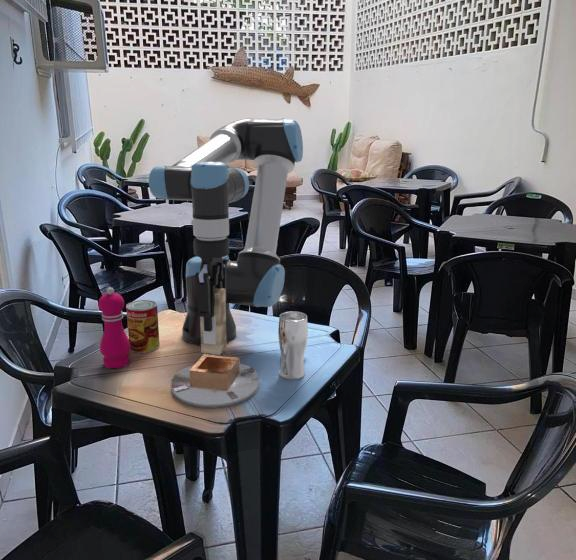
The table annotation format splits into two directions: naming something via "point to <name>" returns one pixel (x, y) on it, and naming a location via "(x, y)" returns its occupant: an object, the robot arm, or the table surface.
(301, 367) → the beer glass
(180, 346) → the table surface
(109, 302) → the pepper mill
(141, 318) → the canned food
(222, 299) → the wedge pin
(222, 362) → the rosette plate
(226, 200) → the robot arm
